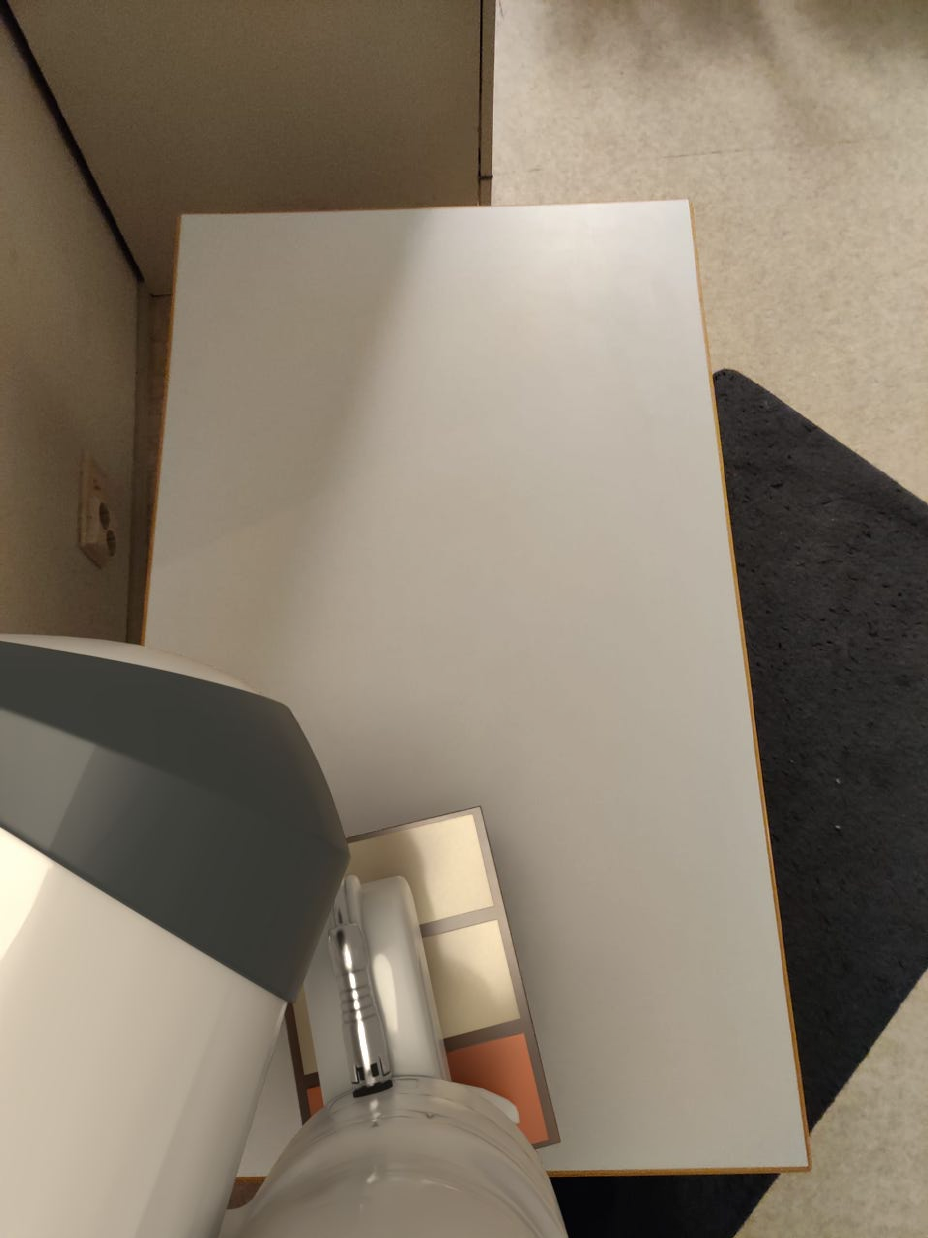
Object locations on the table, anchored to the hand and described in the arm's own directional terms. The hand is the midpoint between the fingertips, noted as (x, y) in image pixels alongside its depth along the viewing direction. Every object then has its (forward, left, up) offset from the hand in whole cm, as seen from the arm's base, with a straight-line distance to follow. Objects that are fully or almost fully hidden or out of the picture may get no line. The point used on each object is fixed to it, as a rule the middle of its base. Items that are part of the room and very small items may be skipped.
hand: (423, 1127), depth 36 cm
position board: (0, +5, -3) cm, 6 cm away
